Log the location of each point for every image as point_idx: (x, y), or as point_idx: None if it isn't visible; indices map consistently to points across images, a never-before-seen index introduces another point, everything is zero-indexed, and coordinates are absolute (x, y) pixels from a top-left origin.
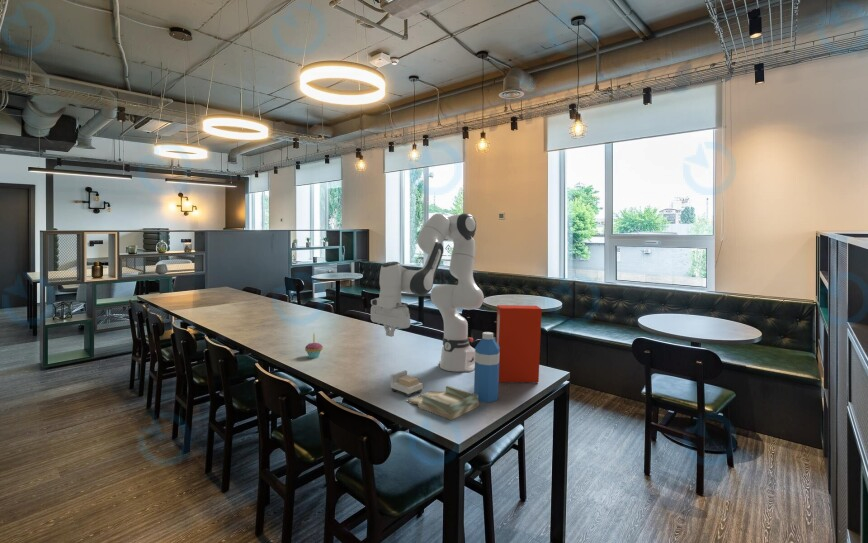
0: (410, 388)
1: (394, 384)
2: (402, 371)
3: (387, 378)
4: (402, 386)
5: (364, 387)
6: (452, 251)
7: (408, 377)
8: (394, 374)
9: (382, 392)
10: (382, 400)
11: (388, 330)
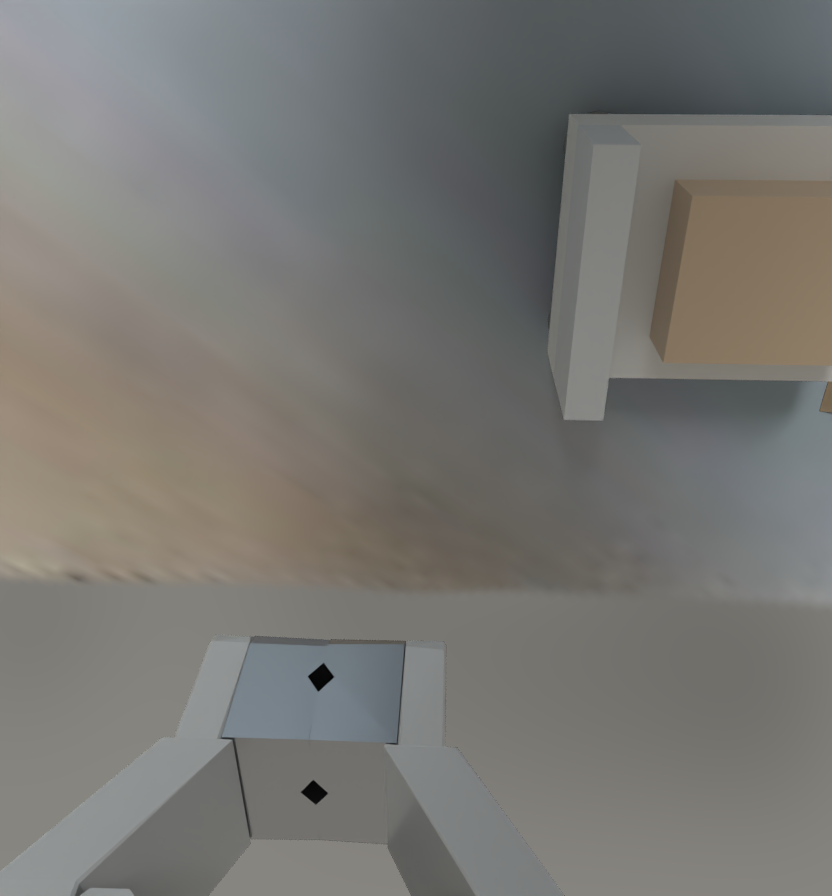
0: None
1: (620, 374)
2: (595, 213)
3: (194, 64)
4: (753, 377)
5: (279, 434)
6: None
7: (755, 254)
8: (591, 378)
9: (507, 407)
10: (641, 520)
11: (223, 808)
